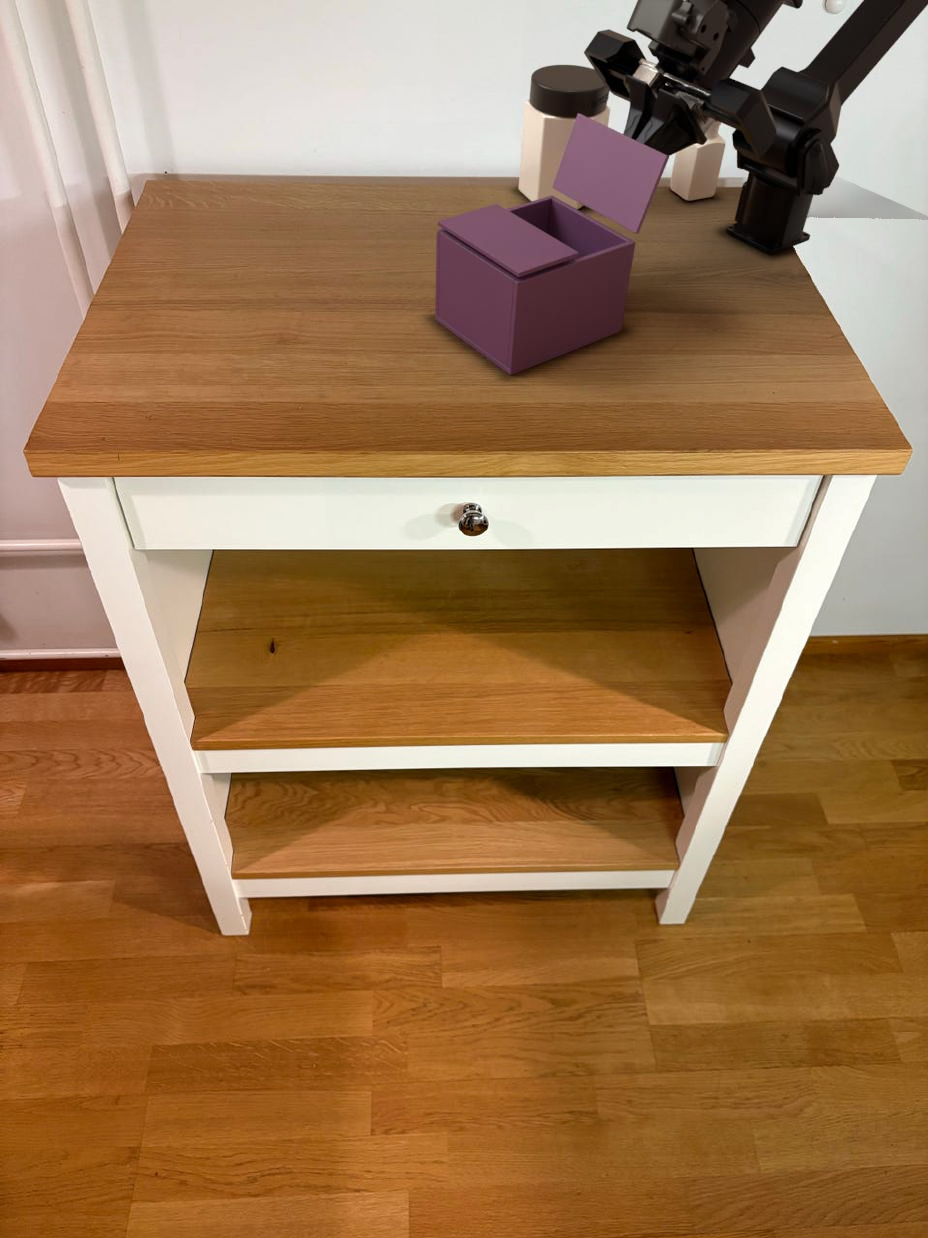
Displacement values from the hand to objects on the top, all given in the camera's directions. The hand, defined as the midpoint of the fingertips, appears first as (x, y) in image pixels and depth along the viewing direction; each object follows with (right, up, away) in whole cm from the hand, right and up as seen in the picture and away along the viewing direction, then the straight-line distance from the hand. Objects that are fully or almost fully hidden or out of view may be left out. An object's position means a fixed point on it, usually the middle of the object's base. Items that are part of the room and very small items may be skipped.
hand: (615, 178), depth 86 cm
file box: (-7, -12, +5) cm, 14 cm away
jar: (-3, +9, +25) cm, 26 cm away
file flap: (-1, 0, -1) cm, 2 cm away
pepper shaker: (+12, +10, +26) cm, 30 cm away
